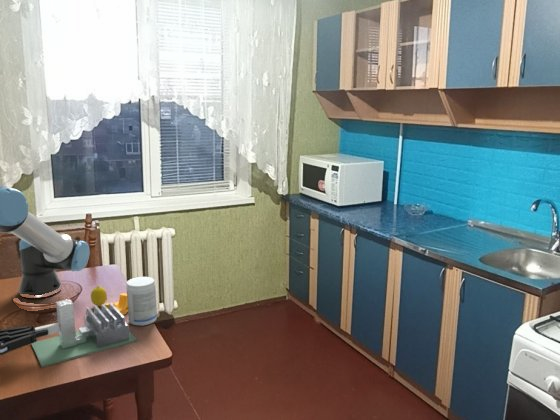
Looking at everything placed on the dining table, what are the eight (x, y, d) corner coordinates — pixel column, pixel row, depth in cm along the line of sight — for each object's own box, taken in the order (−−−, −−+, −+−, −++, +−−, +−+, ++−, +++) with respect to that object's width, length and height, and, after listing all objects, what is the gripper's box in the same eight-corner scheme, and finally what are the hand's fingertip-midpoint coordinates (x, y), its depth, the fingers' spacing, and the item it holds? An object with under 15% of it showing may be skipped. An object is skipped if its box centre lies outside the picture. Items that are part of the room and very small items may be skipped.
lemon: (107, 302, 185) (106, 282, 183) (107, 308, 180) (106, 288, 178) (91, 304, 184) (90, 284, 182) (91, 310, 178) (89, 289, 177)
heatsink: (75, 333, 160) (73, 310, 158) (115, 323, 168) (113, 301, 166) (87, 351, 149) (85, 327, 147) (129, 339, 157) (128, 316, 155)
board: (31, 344, 153) (31, 342, 153) (120, 322, 170) (120, 320, 170) (41, 367, 141) (41, 365, 141) (136, 340, 157) (136, 339, 157)
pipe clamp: (118, 309, 180) (118, 292, 179) (129, 310, 179) (129, 293, 178) (100, 321, 168) (99, 304, 167) (112, 323, 167) (111, 305, 166)
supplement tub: (162, 318, 173) (161, 279, 170) (143, 329, 165) (141, 288, 162) (142, 312, 178) (140, 274, 174) (122, 322, 170) (120, 282, 166)
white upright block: (59, 343, 153) (55, 301, 150) (83, 337, 157) (79, 296, 154) (62, 348, 150) (59, 306, 146) (86, 342, 154) (83, 301, 150)
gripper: (-33, 351, 142) (55, 330, 155) (-29, 371, 132) (64, 347, 145) (-36, 327, 140) (53, 308, 154) (-32, 346, 130) (62, 324, 143)
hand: (58, 327), depth 149 cm, fingers closed
